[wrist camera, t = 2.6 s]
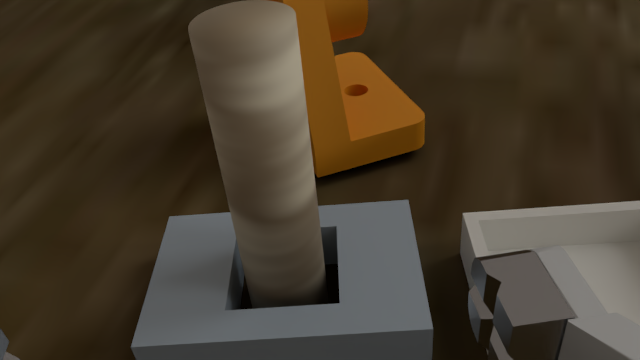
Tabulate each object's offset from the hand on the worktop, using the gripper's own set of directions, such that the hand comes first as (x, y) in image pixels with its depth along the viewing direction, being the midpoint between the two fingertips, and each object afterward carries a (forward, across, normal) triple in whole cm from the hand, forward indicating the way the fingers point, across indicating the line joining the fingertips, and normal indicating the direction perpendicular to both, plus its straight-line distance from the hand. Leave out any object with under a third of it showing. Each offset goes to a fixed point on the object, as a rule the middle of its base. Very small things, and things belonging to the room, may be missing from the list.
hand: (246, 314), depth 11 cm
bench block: (+12, 0, +13) cm, 18 cm away
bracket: (+27, -5, +14) cm, 31 cm away
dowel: (+12, 0, +13) cm, 18 cm away
